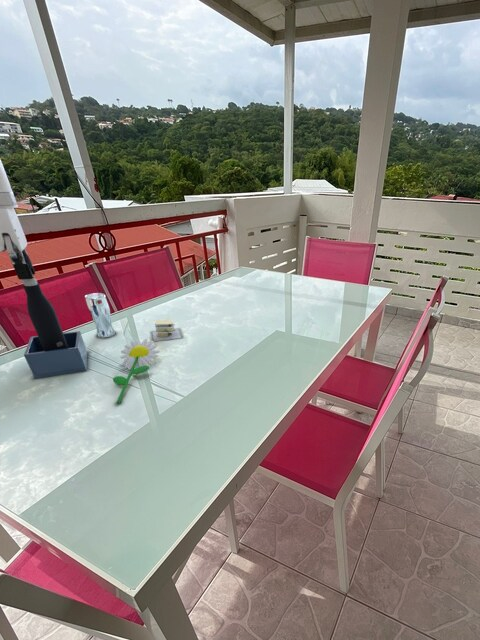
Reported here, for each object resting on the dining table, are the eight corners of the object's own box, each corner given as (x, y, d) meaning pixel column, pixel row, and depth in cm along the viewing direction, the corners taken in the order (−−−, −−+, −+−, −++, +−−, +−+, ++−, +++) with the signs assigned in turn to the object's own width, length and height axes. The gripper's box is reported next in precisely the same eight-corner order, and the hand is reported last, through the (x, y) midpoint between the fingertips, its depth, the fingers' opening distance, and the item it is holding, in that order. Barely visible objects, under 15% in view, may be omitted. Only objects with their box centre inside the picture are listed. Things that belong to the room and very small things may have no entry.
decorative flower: (144, 408, 94) (164, 349, 116) (139, 396, 90) (160, 337, 112) (98, 411, 93) (127, 351, 115) (91, 399, 89) (122, 339, 111)
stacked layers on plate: (154, 341, 125) (151, 327, 122) (152, 332, 131) (149, 318, 128) (181, 337, 128) (179, 324, 125) (178, 329, 135) (176, 316, 132)
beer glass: (106, 339, 124) (94, 300, 115) (92, 336, 126) (79, 296, 117) (120, 332, 129) (110, 294, 121) (106, 329, 131) (95, 291, 123)
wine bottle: (53, 351, 108) (13, 252, 91) (74, 351, 108) (38, 253, 91) (43, 360, 102) (-2, 257, 85) (65, 360, 103) (25, 258, 86)
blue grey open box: (34, 378, 100) (23, 355, 95) (40, 359, 109) (30, 336, 105) (86, 370, 105) (78, 347, 100) (87, 352, 115) (79, 331, 110)
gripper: (-14, 196, 86) (16, 270, 96) (-33, 203, 74) (4, 286, 84) (21, 197, 89) (47, 268, 99) (9, 203, 77) (40, 284, 87)
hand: (27, 276), depth 91 cm, fingers closed on wine bottle, 3 cm apart
